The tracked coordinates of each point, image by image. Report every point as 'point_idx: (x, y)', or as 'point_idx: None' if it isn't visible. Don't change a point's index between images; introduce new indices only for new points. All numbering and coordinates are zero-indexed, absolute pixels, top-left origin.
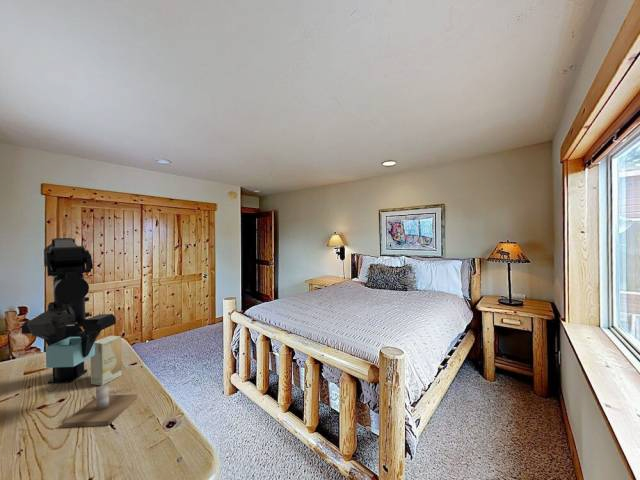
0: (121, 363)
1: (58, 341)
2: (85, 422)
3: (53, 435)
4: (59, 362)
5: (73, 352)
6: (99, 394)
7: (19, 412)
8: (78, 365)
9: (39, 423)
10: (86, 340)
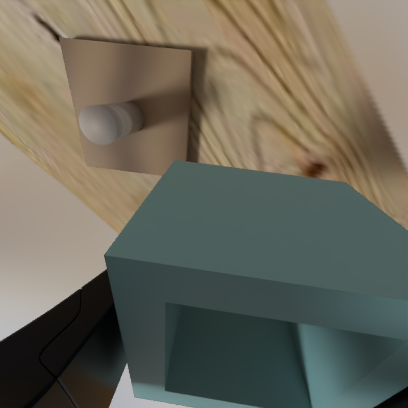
0: None
1: (395, 400)
2: (126, 45)
3: (194, 10)
4: (266, 182)
5: (140, 209)
6: (100, 104)
7: (363, 154)
8: None
9: (275, 87)
10: (14, 338)
